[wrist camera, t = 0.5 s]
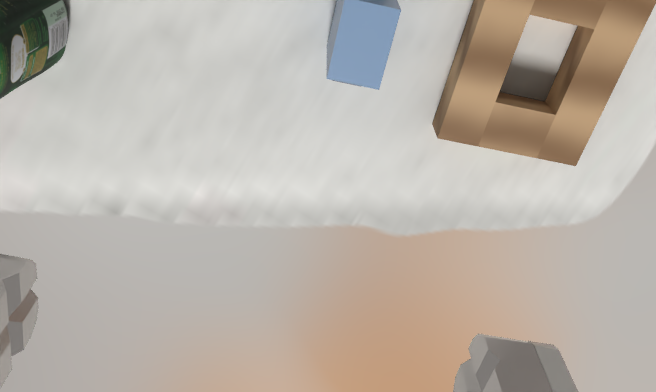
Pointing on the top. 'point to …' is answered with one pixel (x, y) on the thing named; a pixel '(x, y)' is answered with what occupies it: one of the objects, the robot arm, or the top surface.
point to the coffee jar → (30, 39)
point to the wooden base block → (567, 89)
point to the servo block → (361, 41)
